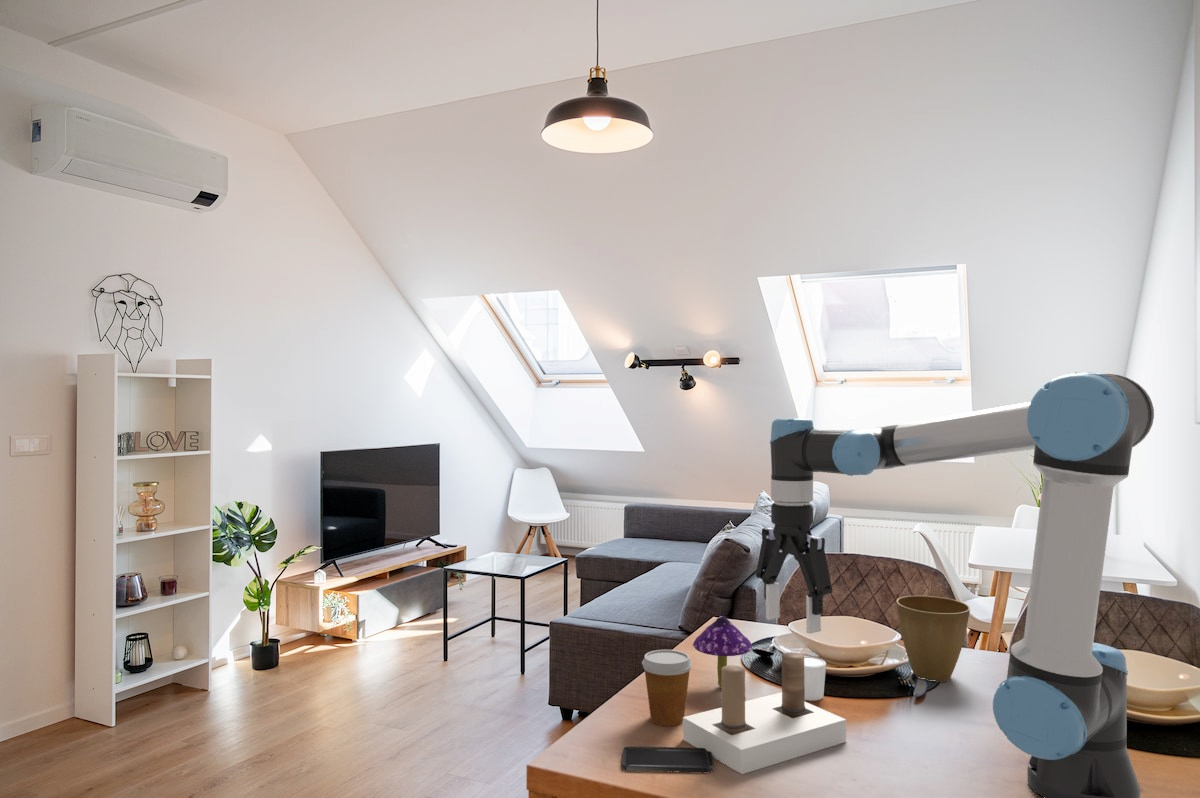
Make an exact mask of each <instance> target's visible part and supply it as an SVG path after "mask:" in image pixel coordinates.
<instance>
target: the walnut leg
mask: <svg viewBox="0 0 1200 798" xmlns="http://www.w3.org/2000/svg"><path fill="white" fill-rule="evenodd" d="M804 657H805V655H804V654H801V653H798V652H784V653H782V655H781V692H782V714H784V715H786V716H789V717H791V718H796V717H800V716H803V715H805V702H806V700H805V683H804Z"/></svg>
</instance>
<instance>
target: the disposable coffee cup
mask: <svg viewBox="0 0 1200 798" xmlns="http://www.w3.org/2000/svg"><path fill="white" fill-rule="evenodd" d="M641 665H642V668H643V670H644V674H645V675H644V676H645V683H646V684H645V685H646V690H647V691H646V692H647V699H648V708H649V713H650V721H651V722H652V723H654V724H656V725H659V726H665V725H666V727H667V726H676V725H679V724H683V717H685V713H686V711H685V710H686V704H687V696H688V695H687V694H688V687H689V678H690V670H691V669H692V666H693V662H692V661H691V657H690V655H689V654H688V653H686V652H683V651H681V650H676V649H656V650H651V651H649V652H647V653H645V654H644V657H643V660H642V661H641Z"/></svg>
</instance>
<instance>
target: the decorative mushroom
mask: <svg viewBox="0 0 1200 798" xmlns="http://www.w3.org/2000/svg"><path fill="white" fill-rule="evenodd" d="M692 646H693V647H694V649H695V650H696V651H698V652H699V653H702V654H705V655H710V656H714V657H715V656H716V657H717V664H716V665H717V670H716V671H717V684H718V686H719V687H720V688H722V667H724V666H728V657H734V656H742V655H745V654H747V653H749V652H751V651H752V648H753V643H751V641H750V640H749V639H748V637H747V636H745V635H744V634H743V633H742V632H741V630H740V629H739V628H738V627H737V626H736V625H734V624H733V623H732V622H731V621H730V619H728V618H727V616H723V615H722V616H721V615H720V616H719V617H717V619H716V620H715V621H713V622H712V623H711V624H710V625H708V626H706V628H704V630H703V631H702V632H700V634H699V635H698V636H697V637H696V638H695V639H694V641H693V643H692Z"/></svg>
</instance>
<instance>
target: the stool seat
mask: <svg viewBox="0 0 1200 798" xmlns="http://www.w3.org/2000/svg"><path fill="white" fill-rule="evenodd" d="M682 740H683V741H685V742H686V743H688V744H690V745H691V746H693V747H694V748H696V747H697V748H705V749H706V750H707V751H710V752H711V755H712V758H713V757H714V758H713V759H715V760H717V761H718V760H719V762H720V763H721V764H722V765H723V764H724V765H725V764H726V765H725V766H727V767H729V768H730V769H732V770H734V771H736V772H737V773H739V774H741V775H744V774H747V773H750V772H753V771H757V770H761V769H763V768H767V767H770V766H772V765H777V764H779V763H784V762H786V761H789V760H792V759H795V758H799V757H802V756H806V755H808V754H812V753H815V752H818V751H822V750H824V749H827V748H832V747H834V746H838V745H840V744H845V743H846V742H847V719H846V718H844V717H841V716H839V715H837V714H835V713H832V712H830V711H828V710H825V709H823V708H821V707H818V706H816V705H814V704H812V703H810V702H807V701H805V715H803V716H800V717H796V718H791V717H789V716H786V715H784V714H782V691H780V692H778V693H774V694H769V695H764V696H761V697H758V698H757V697H756V698H753V699H750V700H749V699H748V700H746V669H745V667H742V666H740V665H727V666H724V667H722V687H721V707H719V708H714V709H710V710H706V711H701V712H698V713H694V714H691V715H687V716H684V717H683V722H682Z"/></svg>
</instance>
